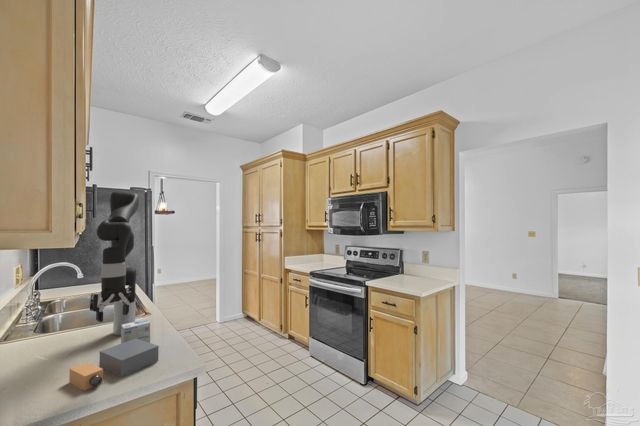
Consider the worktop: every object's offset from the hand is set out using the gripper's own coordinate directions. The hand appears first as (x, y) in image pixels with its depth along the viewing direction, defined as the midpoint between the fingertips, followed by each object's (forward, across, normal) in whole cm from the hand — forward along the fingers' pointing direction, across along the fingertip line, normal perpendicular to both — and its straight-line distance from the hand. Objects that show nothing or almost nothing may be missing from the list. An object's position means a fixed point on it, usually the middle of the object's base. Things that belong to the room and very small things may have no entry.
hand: (113, 318), depth 108 cm
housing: (+21, +7, -3) cm, 23 cm away
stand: (+21, -8, -3) cm, 23 cm away
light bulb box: (+21, -18, -17) cm, 33 cm away
